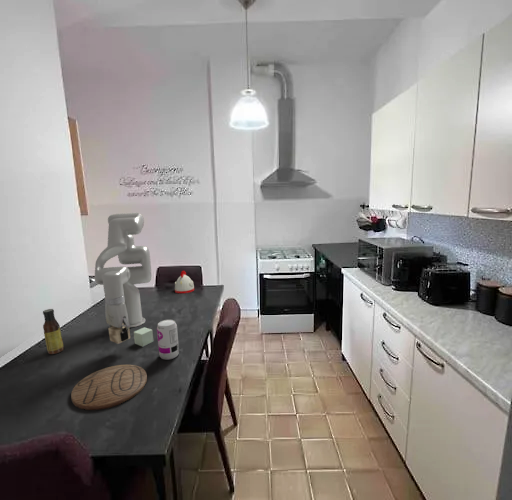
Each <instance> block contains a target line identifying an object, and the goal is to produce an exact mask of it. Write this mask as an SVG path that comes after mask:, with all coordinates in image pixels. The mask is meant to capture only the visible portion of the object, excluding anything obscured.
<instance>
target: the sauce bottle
mask: <svg viewBox="0 0 512 500" xmlns="http://www.w3.org/2000/svg"><path fill="white" fill-rule="evenodd" d="M42 315H43V317H44V323H43V325H42V328H43V335H44V339H45V340H44V341H45V346H46V350H47V353H48V354H49V355H57V354H59V353H61V352H63V351H64V341H63V336H62V331H61V327H60V323H59V322H58V321H57V319H56V318H55V311H54V308H48V309H44V310H42Z"/></svg>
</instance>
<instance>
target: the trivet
mask: <svg viewBox="0 0 512 500" xmlns="http://www.w3.org/2000/svg"><path fill="white" fill-rule="evenodd" d="M147 382H148V375H147V371H146V370H145V369H144V368H143V367H142V366H138V365H136V364H117V365H112V366H109V367H105V368H102V369H99V370H96V371H94V372H92V373H90V374H89V375H86V376H85V377H84V378H82V379H81V380H80V381H78V382H77V383H76V384H75V385H74V387H73V388H72V391H71V394H70V396H71V397H70V398H71V402H72V404H73V405H74V407H76V408H78V409H80V410H84V409H85V410H86V411H99V410H105V409H110V408H113V407H116V406H119V405H122V404H124V403H126V402H127V400H128V401H130V400H131V399H132V398H135V397H136V396H137V395H138V394H139V393H141V392H142V390H143V389H145V387H146V385H147ZM145 384H146V385H145ZM144 386H145V387H144ZM136 394H137V395H136ZM135 395H136V396H135ZM129 399H130V400H129ZM125 401H126V402H125ZM123 402H124V403H123ZM121 403H122V404H121Z"/></svg>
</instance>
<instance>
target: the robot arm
mask: <svg viewBox="0 0 512 500" xmlns="http://www.w3.org/2000/svg"><path fill="white" fill-rule="evenodd" d="M107 223H108V231H107V246H106V247H105V248H104V249H103V250H102V251H101V252H100V253H99V255H98V257H97V259H96V261H95V264H94V265H95V267H94V281H95V282H96V284H98V285H99V286H103V292H104V298H105V299H104V300H105V305H104V307H105V308H104V312H105V321H106V324H107V325H109V328H110V327H112V326H114V327H117V328H120V331H121V333H120V336H121V341H124V342H125V340H126V341H127V339H128V329H129V330H130V328H135V327H139V326H141V325H143V324H145V323H146V318H145V317H143V312H142V305H141V303H142V302H141V295H140V290H139V288H138V287H137V286H136V285H139V284H140V285H141V284H143V285H144V284H147V283H151V281H152V278H153V277H152V265H151V255H150V250H149V248H148V247H147V246H146V245H135V238H134V235H140V234H141V232H142V230H143V228H144V223H145V219H144V216H143V214H141V213H139V212H135V213H134V212H130V213H127V212H126V213H116V214H110V215H109V216H108V217H107ZM114 257H117V258H118V262H119V264H121V265H135V266H110V267H109V266H108V267H105V264H106V263H107V262H108V261H110V260H112V259H113V258H114ZM136 264H137V265H138V264H140V265H138V266H137V265H136ZM122 324H124V325H122ZM123 326H124V327H125V328H124V329H123V328H122V327H123ZM128 340H129V339H128Z"/></svg>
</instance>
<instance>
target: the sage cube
mask: <svg viewBox="0 0 512 500" xmlns="http://www.w3.org/2000/svg"><path fill="white" fill-rule="evenodd" d="M153 333H154V332H153V329H151V328H147V327H141V328H139V329H137V330H134V331H133V339H134V344H135V345H137V346H140V347H146V346H147V345H149V344H151V343H153V342H154V334H153Z"/></svg>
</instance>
